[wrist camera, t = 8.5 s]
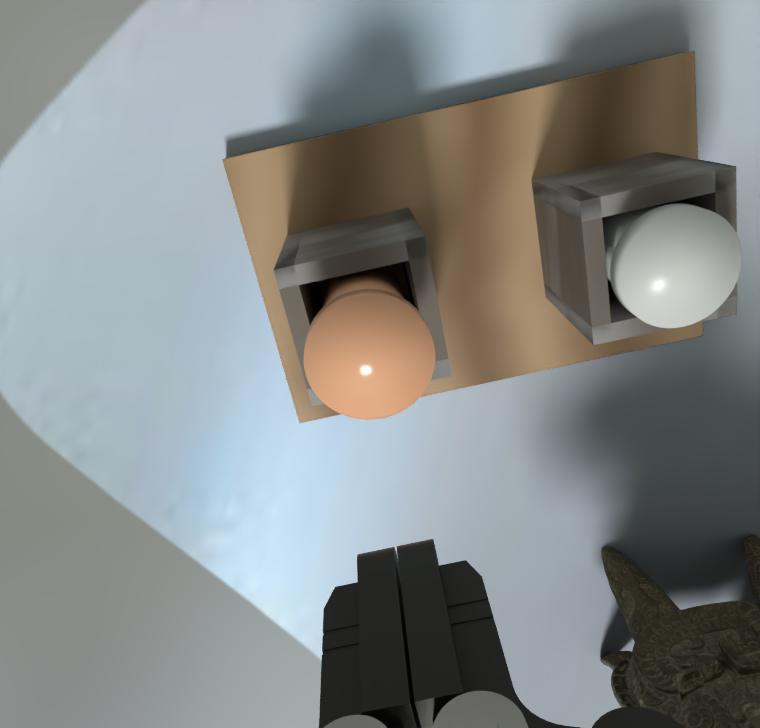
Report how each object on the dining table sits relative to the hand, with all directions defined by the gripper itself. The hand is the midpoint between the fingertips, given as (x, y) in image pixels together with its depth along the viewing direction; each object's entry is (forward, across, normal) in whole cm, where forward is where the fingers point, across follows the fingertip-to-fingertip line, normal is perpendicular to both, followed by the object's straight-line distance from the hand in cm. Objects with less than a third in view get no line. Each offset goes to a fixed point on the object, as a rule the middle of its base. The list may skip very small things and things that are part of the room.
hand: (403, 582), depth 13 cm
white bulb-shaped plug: (+22, -12, 0) cm, 24 cm away
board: (+23, -6, 0) cm, 24 cm away
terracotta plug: (+19, 0, 0) cm, 19 cm away
